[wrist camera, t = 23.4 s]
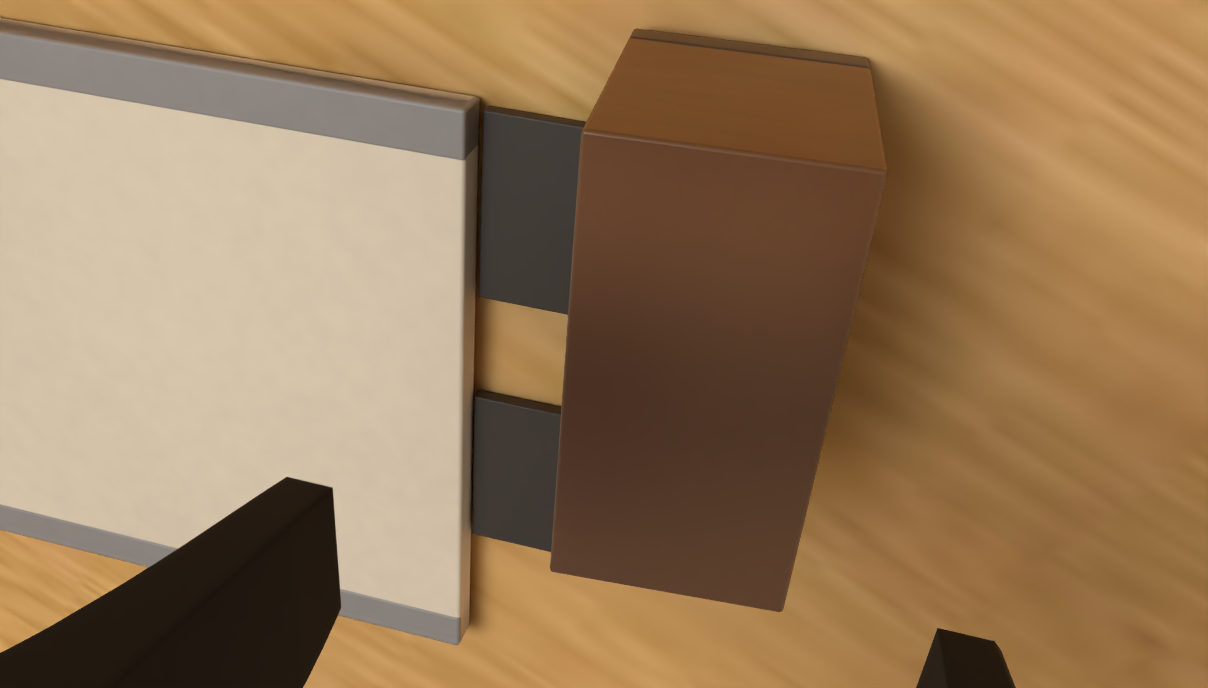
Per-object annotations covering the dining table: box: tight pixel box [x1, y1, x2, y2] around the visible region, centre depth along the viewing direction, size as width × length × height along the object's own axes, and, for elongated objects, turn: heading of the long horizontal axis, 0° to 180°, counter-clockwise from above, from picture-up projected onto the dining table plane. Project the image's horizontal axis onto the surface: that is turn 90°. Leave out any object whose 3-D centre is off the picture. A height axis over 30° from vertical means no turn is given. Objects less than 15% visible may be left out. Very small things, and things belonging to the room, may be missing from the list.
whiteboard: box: [0, 18, 479, 645], centre depth 25 cm, size 14×20×1 cm
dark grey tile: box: [479, 106, 586, 314], centre depth 21 cm, size 4×3×1 cm
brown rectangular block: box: [550, 29, 887, 612], centre depth 18 cm, size 8×4×5 cm, turn 175°
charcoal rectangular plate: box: [472, 390, 562, 552], centre depth 24 cm, size 4×3×1 cm
